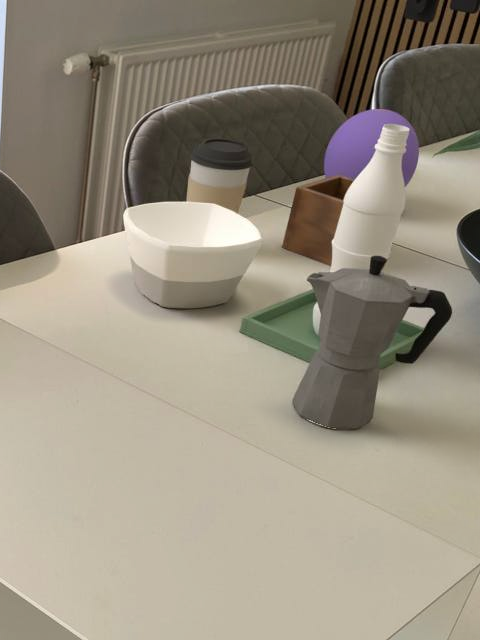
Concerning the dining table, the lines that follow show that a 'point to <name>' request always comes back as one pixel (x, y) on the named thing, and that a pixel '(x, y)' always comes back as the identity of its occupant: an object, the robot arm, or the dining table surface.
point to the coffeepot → (360, 340)
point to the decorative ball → (367, 144)
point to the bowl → (189, 252)
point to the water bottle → (371, 208)
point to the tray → (311, 329)
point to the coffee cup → (219, 173)
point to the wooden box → (316, 217)
